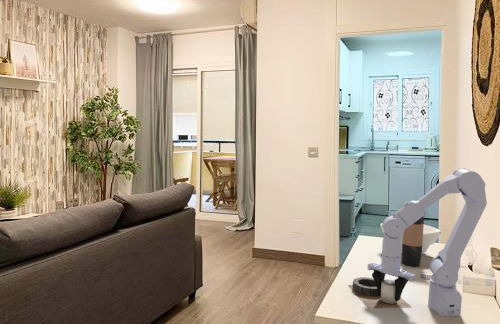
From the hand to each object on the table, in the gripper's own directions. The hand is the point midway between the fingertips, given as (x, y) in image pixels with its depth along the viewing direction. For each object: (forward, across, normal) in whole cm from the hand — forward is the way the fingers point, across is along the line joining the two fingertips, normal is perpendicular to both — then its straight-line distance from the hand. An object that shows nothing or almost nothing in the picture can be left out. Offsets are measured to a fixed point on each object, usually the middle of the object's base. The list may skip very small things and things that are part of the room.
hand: (388, 297), depth 132 cm
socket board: (+2, +4, -2) cm, 5 cm away
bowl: (+3, +18, -60) cm, 63 cm away
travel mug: (+3, +11, -44) cm, 46 cm away
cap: (+1, 0, 0) cm, 1 cm away
